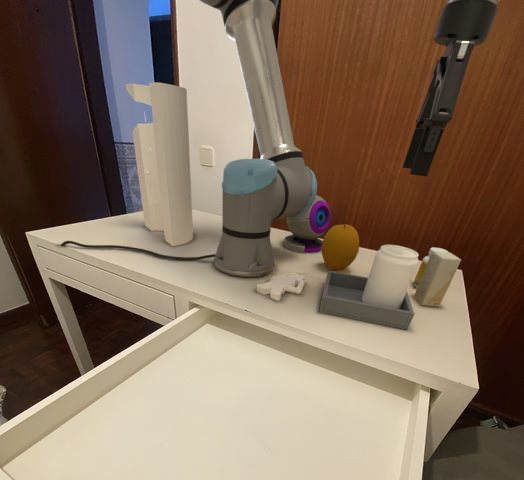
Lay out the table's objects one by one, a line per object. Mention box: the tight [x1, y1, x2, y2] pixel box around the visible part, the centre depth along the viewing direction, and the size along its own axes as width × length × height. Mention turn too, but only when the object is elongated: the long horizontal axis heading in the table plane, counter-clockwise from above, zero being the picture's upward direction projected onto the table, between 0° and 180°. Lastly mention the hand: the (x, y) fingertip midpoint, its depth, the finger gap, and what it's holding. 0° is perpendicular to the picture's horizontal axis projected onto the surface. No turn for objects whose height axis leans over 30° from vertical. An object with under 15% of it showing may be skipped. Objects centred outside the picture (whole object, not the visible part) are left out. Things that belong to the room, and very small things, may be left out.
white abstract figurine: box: [256, 271, 306, 302], centre depth 69 cm, size 9×12×2 cm
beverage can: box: [362, 244, 419, 309], centre depth 62 cm, size 8×8×12 cm
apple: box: [320, 223, 360, 272], centre depth 80 cm, size 10×10×12 cm
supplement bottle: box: [412, 247, 449, 289], centre depth 75 cm, size 5×5×10 cm
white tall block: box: [125, 81, 194, 247], centre depth 84 cm, size 35×11×21 cm
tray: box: [318, 270, 415, 330], centre depth 65 cm, size 18×15×4 cm
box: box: [413, 251, 462, 308], centre depth 68 cm, size 5×4×11 cm
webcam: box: [283, 194, 331, 254], centre depth 92 cm, size 13×13×15 cm
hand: (413, 171), depth 57 cm, fingers open, 13 cm apart
